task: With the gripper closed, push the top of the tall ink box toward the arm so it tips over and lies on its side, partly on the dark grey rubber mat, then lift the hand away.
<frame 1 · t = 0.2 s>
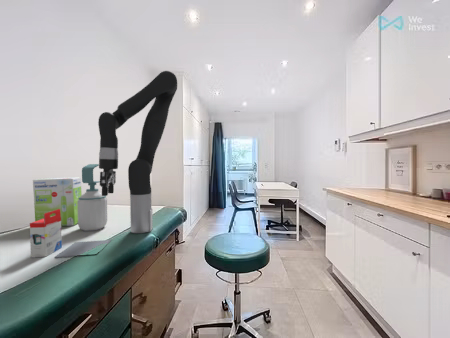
hand: (107, 194, 99), 17 cm above the table, tool pointing down, fingers open, 8 cm apart
toothbrush box: (59, 224, 114), on the table
soap bottle: (93, 228, 107), on the table
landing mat: (85, 248, 81), on the table
ink box: (47, 253, 77), on the table
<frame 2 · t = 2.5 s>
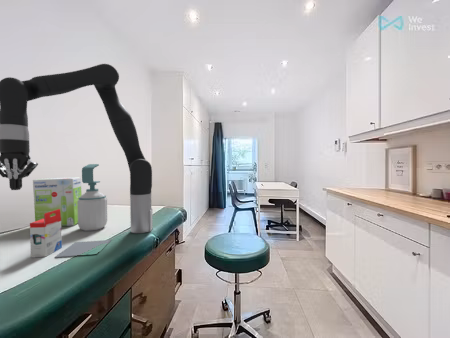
hand: (15, 189, 75), 22 cm above the table, tool pointing down, fingers closed
nothing on the table moved.
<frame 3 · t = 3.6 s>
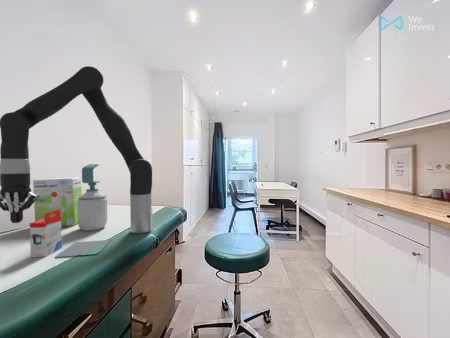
hand: (16, 222, 76), 11 cm above the table, tool pointing down, fingers closed
nothing on the table moved.
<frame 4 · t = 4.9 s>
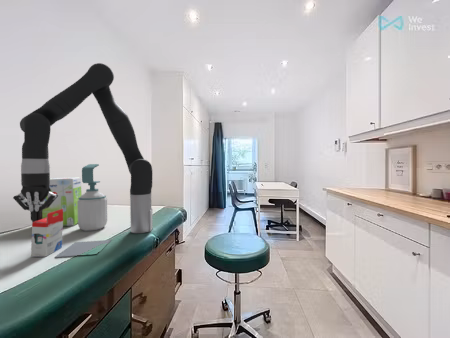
hand: (36, 221, 77), 11 cm above the table, tool pointing down, fingers closed
ink box: (47, 252, 77), on the table, touching gripper
everything else where it was.
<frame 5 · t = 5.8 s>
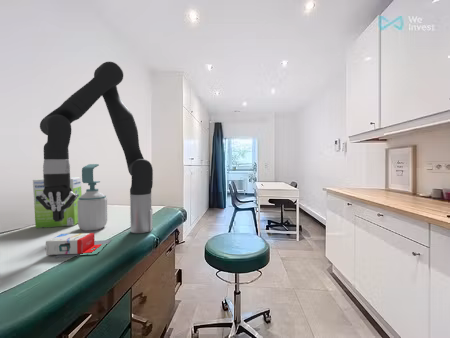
hand: (58, 221, 78), 11 cm above the table, tool pointing down, fingers closed
ink box: (53, 244, 77), point 3 cm above the table, touching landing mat
everything else where it was.
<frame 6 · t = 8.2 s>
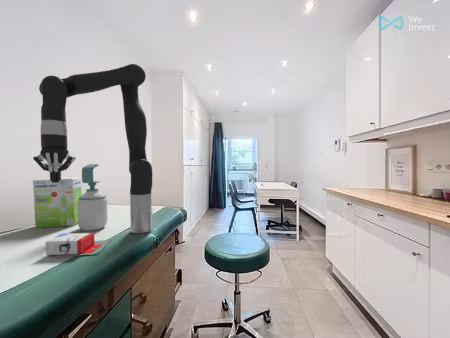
hand: (55, 182, 79), 24 cm above the table, tool pointing down, fingers closed
nothing on the table moved.
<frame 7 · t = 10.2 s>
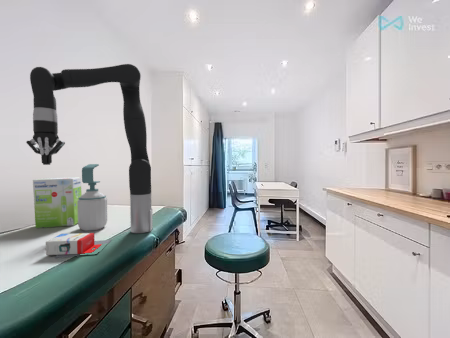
hand: (46, 164, 87), 31 cm above the table, tool pointing down, fingers closed
nothing on the table moved.
at the end: ink box tilted 90°; ink box inside the target area (0.4 cm from its centre), point 2.9 cm above the table; the gripper is holding nothing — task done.
